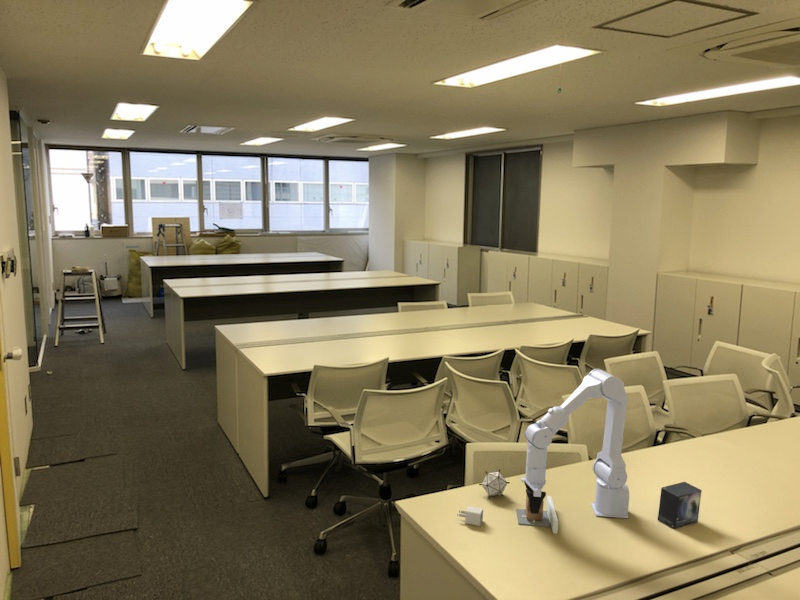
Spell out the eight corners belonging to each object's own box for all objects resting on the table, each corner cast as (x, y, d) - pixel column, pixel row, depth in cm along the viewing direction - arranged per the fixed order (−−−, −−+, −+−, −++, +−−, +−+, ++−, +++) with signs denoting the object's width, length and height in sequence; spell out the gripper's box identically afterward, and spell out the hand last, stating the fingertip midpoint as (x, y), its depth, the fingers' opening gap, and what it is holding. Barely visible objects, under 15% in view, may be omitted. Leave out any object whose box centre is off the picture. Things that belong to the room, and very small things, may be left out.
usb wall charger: (479, 527, 178) (480, 514, 177) (456, 522, 180) (456, 509, 179) (482, 520, 181) (483, 508, 181) (459, 516, 184) (460, 503, 183)
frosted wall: (550, 506, 191) (550, 496, 190) (557, 533, 175) (558, 522, 175) (546, 506, 191) (547, 495, 191) (553, 533, 175) (553, 521, 175)
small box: (675, 530, 179) (678, 496, 177) (656, 520, 184) (659, 487, 183) (699, 522, 184) (702, 489, 182) (680, 513, 189) (683, 480, 188)
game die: (498, 508, 197) (508, 493, 190) (473, 496, 198) (482, 481, 191) (504, 485, 203) (515, 470, 196) (481, 474, 204) (490, 458, 197)
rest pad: (546, 511, 188) (546, 510, 188) (550, 526, 179) (550, 525, 179) (516, 509, 189) (516, 508, 189) (518, 524, 180) (518, 523, 180)
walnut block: (540, 513, 186) (541, 494, 185) (542, 520, 181) (543, 501, 180) (525, 512, 186) (526, 493, 185) (526, 519, 182) (527, 500, 181)
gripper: (520, 454, 189) (517, 496, 191) (524, 474, 175) (521, 519, 177) (543, 456, 188) (541, 498, 190) (549, 476, 174) (546, 521, 176)
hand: (533, 508), depth 183 cm, fingers closed on walnut block, 4 cm apart
